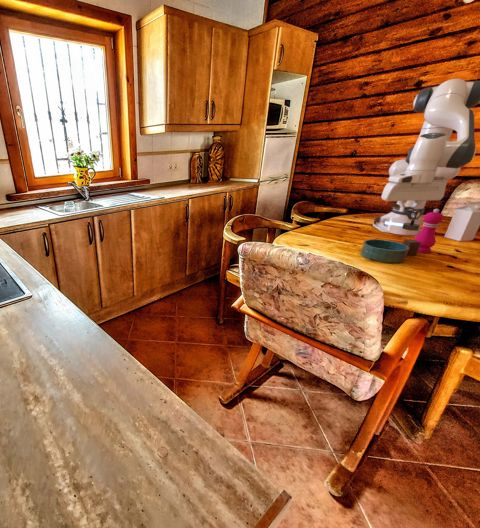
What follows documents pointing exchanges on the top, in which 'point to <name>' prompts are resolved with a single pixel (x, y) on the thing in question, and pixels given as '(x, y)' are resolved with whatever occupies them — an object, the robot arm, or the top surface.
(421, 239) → the pepper mill
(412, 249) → the dark brown block
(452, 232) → the milk carton
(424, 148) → the robot arm
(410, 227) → the dark grey angled piece
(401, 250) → the bowl
